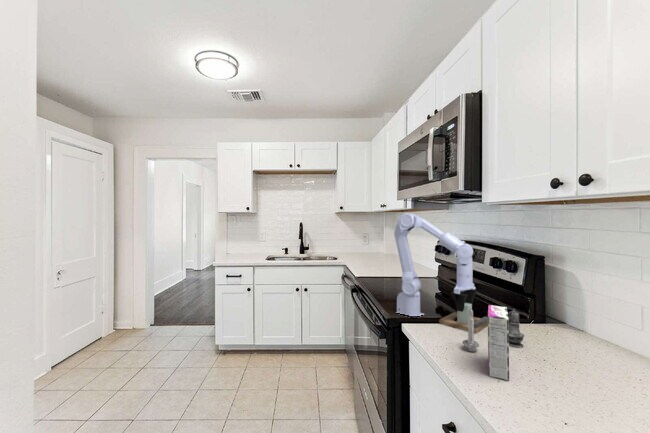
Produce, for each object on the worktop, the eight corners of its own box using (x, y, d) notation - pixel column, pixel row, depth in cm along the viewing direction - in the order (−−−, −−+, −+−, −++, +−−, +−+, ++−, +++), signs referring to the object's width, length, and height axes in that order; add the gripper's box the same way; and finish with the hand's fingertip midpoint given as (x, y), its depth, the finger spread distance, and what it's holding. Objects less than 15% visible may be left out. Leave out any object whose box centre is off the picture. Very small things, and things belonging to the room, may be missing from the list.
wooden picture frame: (439, 323, 118) (439, 319, 118) (454, 315, 127) (454, 312, 127) (476, 333, 107) (476, 329, 107) (489, 324, 117) (490, 320, 117)
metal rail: (472, 327, 109) (472, 323, 109) (484, 320, 117) (484, 316, 117) (476, 328, 108) (476, 324, 108) (487, 320, 116) (487, 317, 116)
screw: (460, 346, 97) (476, 347, 96) (464, 352, 92) (481, 354, 92) (460, 306, 97) (476, 307, 96) (464, 311, 92) (481, 312, 92)
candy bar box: (487, 359, 88) (487, 304, 88) (507, 363, 86) (507, 306, 86) (487, 376, 79) (487, 315, 79) (509, 382, 76) (509, 318, 76)
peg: (457, 323, 117) (457, 303, 117) (461, 321, 120) (461, 301, 120) (467, 326, 114) (467, 306, 114) (471, 324, 117) (471, 304, 117)
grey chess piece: (528, 348, 96) (528, 311, 96) (510, 348, 96) (510, 311, 96) (517, 340, 101) (517, 305, 101) (499, 340, 102) (500, 305, 102)
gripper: (467, 278, 109) (467, 315, 110) (482, 273, 119) (482, 307, 119) (448, 275, 115) (448, 310, 115) (464, 271, 124) (464, 303, 125)
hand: (464, 308), depth 117 cm, fingers open, 7 cm apart
